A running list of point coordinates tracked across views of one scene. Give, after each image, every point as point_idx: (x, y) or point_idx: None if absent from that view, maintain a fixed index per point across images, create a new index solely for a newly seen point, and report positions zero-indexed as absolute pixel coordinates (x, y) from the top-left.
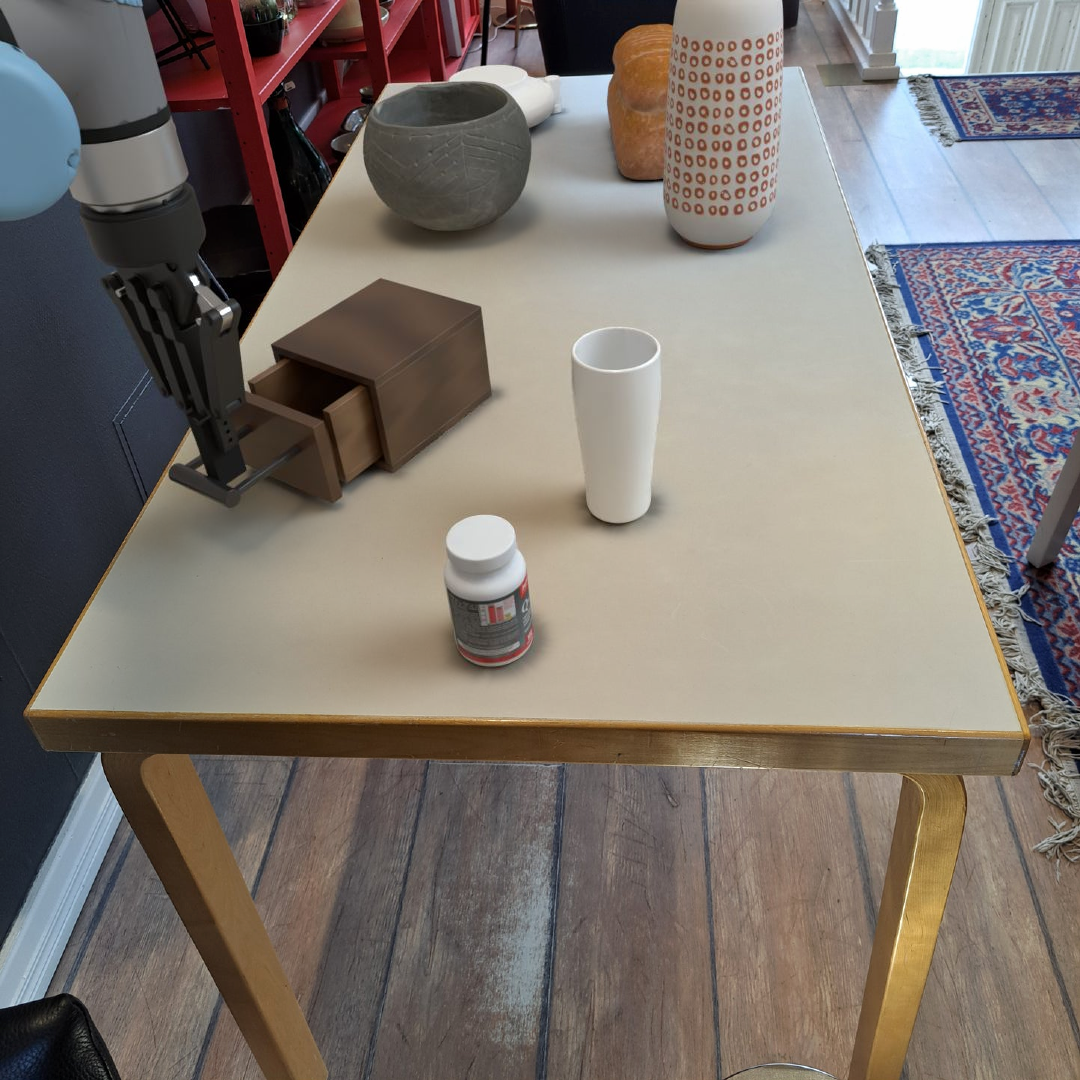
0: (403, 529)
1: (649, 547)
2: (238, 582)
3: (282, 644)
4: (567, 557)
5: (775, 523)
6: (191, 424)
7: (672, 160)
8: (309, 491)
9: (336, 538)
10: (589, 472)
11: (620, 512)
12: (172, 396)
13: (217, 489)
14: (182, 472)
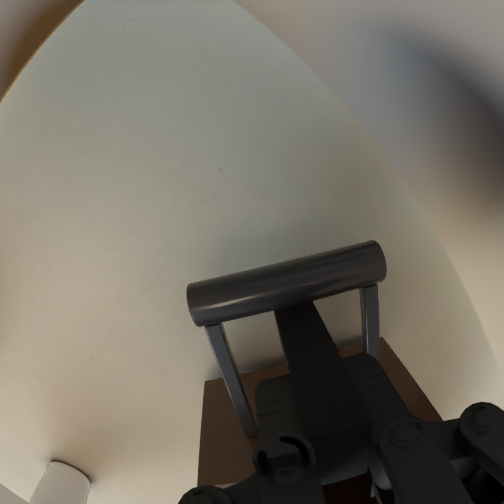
0: (125, 396)
1: (26, 451)
2: (160, 209)
3: (28, 201)
4: (32, 429)
5: (28, 480)
6: (351, 399)
7: None
8: (249, 375)
9: (156, 348)
10: (48, 493)
11: (45, 470)
12: (458, 418)
13: (220, 299)
14: (347, 270)
